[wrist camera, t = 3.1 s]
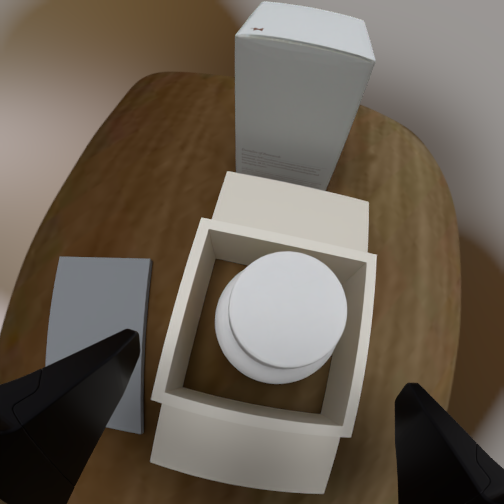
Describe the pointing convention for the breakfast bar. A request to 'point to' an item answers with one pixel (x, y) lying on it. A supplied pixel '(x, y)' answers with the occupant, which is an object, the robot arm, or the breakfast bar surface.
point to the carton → (251, 415)
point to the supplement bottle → (281, 317)
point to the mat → (102, 318)
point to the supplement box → (297, 91)
